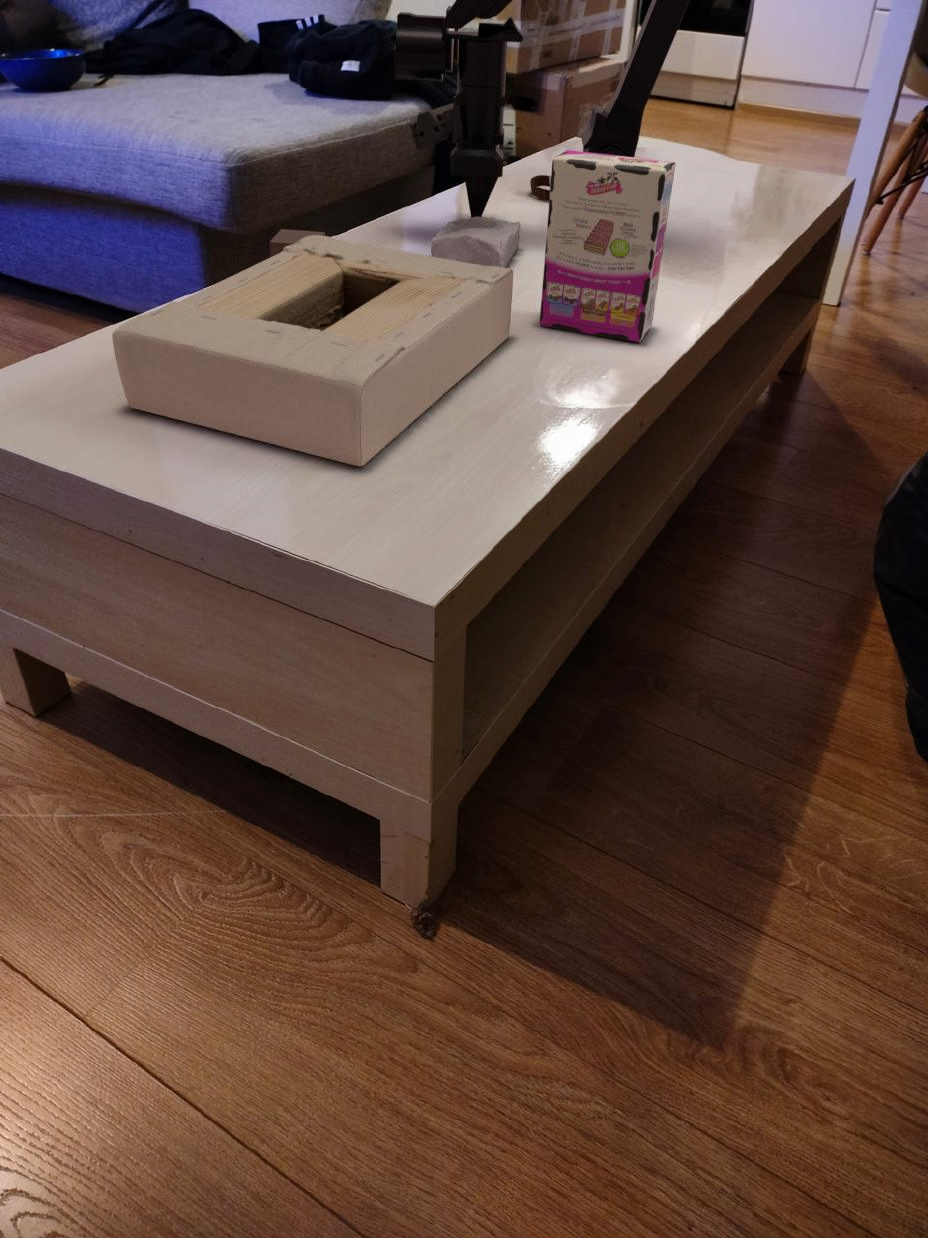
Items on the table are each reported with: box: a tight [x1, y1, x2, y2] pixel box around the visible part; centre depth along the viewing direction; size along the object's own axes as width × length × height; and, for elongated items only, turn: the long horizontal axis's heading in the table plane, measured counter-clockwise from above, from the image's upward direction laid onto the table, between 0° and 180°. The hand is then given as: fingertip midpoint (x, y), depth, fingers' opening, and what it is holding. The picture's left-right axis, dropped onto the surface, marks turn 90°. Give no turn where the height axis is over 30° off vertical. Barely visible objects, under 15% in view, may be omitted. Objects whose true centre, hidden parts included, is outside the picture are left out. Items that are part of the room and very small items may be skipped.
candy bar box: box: [539, 149, 676, 343], centre depth 97 cm, size 11×5×16 cm, turn 68°
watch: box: [529, 174, 551, 202], centre depth 142 cm, size 8×5×4 cm, turn 48°
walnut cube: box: [268, 228, 326, 258], centre depth 108 cm, size 5×5×5 cm
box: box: [111, 235, 514, 467], centre depth 88 cm, size 23×8×32 cm
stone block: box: [430, 216, 521, 268], centre depth 118 cm, size 12×5×10 cm
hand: (475, 219), depth 125 cm, fingers closed
